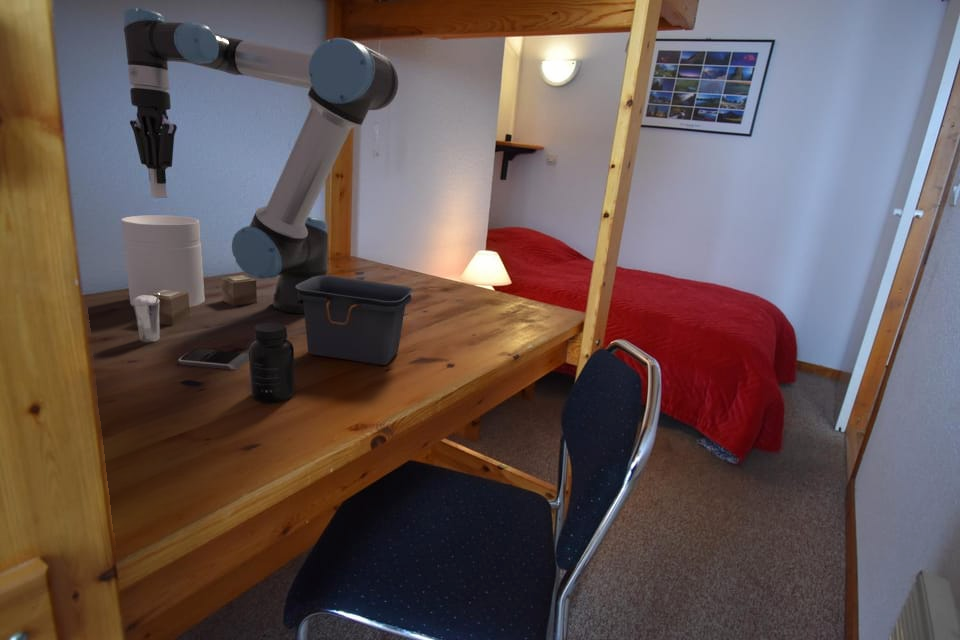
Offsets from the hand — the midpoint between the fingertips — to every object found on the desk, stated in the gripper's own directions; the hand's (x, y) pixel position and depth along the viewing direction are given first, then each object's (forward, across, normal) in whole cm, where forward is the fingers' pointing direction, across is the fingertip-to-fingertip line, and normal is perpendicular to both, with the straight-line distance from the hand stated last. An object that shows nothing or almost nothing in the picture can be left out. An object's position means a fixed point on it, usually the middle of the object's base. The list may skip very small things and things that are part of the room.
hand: (159, 197), depth 125 cm
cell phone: (+26, +40, -19) cm, 51 cm away
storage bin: (+25, +58, -1) cm, 63 cm away
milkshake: (+25, +22, -19) cm, 39 cm away
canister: (+25, 0, 0) cm, 25 cm away
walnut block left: (+25, +13, -9) cm, 30 cm away
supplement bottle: (+25, +59, -23) cm, 68 cm away
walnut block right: (+25, +12, +11) cm, 30 cm away
